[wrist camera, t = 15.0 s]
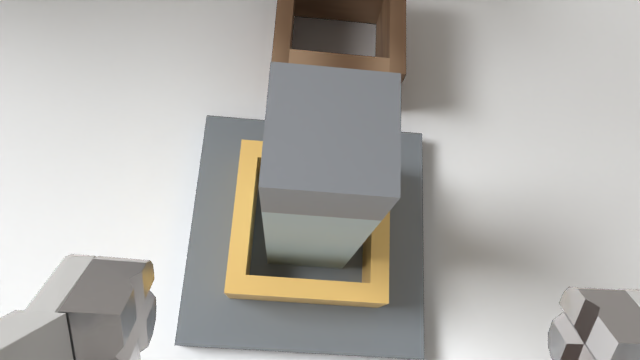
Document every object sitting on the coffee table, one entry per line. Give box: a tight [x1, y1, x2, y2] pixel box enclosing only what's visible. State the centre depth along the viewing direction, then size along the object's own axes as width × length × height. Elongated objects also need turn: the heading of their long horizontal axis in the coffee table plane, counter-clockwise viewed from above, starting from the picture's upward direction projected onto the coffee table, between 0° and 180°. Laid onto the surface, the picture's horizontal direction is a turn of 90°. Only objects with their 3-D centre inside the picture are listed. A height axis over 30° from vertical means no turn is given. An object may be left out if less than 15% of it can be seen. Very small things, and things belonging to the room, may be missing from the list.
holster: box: [271, 0, 406, 84], centre depth 33 cm, size 8×8×5 cm
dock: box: [175, 115, 424, 360], centre depth 30 cm, size 14×14×4 cm
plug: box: [258, 62, 401, 269], centre depth 23 cm, size 4×4×15 cm
